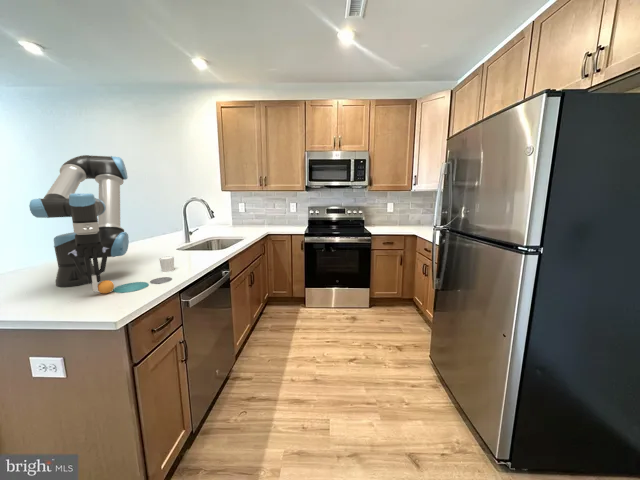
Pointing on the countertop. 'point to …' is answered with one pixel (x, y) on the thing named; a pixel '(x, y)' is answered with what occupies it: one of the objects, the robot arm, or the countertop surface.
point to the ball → (105, 286)
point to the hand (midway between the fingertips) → (95, 290)
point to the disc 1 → (130, 287)
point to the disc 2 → (160, 280)
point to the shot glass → (167, 264)
